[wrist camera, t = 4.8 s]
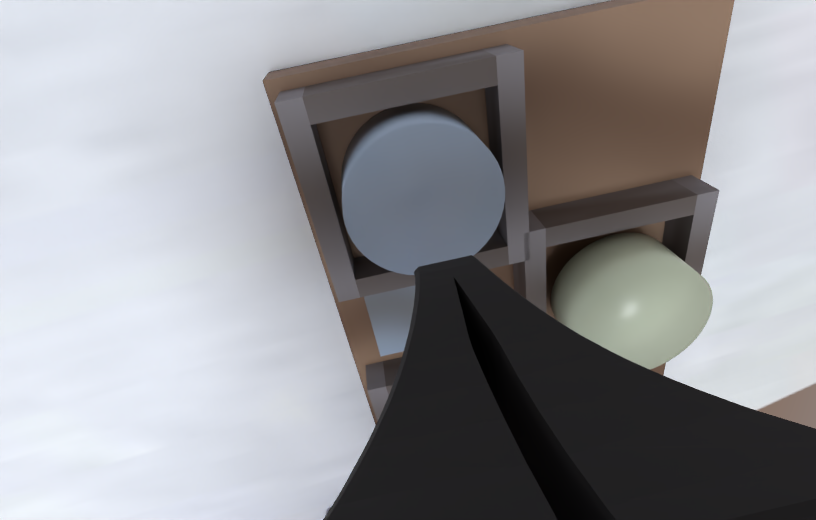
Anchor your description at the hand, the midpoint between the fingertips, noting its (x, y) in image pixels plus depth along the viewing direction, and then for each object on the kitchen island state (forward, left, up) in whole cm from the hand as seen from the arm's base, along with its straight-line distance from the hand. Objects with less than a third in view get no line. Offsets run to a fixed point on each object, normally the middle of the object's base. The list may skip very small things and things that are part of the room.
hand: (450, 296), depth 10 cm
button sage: (-6, -7, -6) cm, 11 cm away
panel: (-6, -4, -8) cm, 11 cm away
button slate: (0, 0, -7) cm, 7 cm away
